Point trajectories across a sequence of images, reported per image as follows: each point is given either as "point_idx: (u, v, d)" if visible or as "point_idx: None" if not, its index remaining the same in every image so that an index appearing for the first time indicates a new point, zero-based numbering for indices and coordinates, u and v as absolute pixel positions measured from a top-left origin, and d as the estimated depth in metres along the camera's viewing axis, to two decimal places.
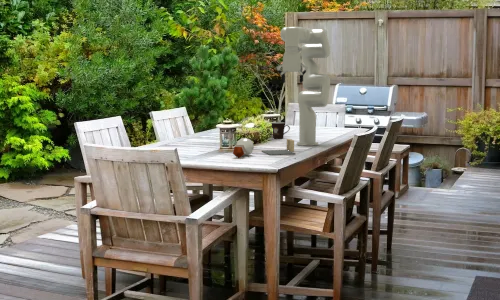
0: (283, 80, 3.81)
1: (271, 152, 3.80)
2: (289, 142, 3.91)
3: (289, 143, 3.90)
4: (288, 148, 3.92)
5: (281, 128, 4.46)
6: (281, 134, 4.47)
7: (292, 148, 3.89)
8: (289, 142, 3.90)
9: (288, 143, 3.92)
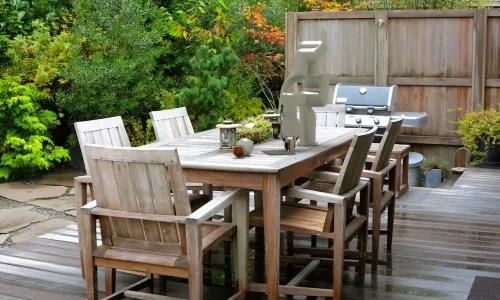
0: None
1: (271, 152, 3.80)
2: (289, 142, 3.91)
3: (289, 143, 3.90)
4: (288, 148, 3.92)
5: None
6: None
7: (292, 148, 3.89)
8: (289, 142, 3.90)
9: (288, 143, 3.92)
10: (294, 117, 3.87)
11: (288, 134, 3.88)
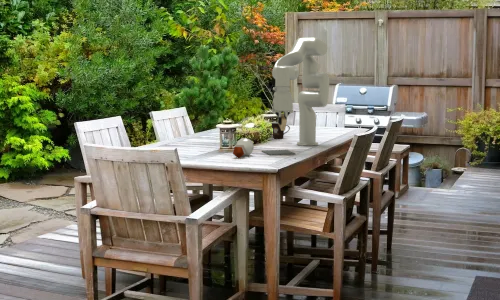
0: None
1: (271, 152, 3.80)
2: None
3: None
4: None
5: None
6: (281, 134, 4.47)
7: (283, 128, 3.78)
8: (282, 121, 3.77)
9: None
10: (287, 91, 3.75)
11: (280, 108, 3.76)
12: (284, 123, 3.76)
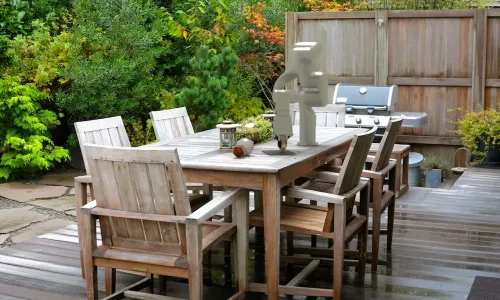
0: None
1: (271, 152, 3.80)
2: (281, 143, 3.78)
3: (281, 144, 3.78)
4: None
5: None
6: None
7: (282, 150, 3.80)
8: (281, 145, 3.78)
9: None
10: (287, 115, 3.76)
11: (280, 132, 3.76)
12: (283, 148, 3.77)
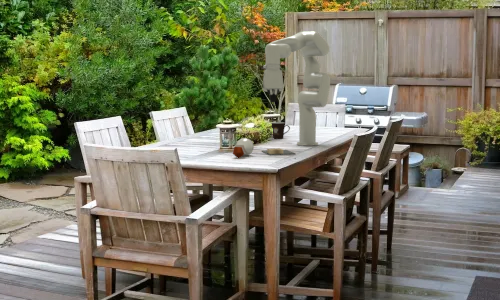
0: None
1: None
2: None
3: None
4: None
5: (281, 128, 4.46)
6: (281, 134, 4.47)
7: None
8: None
9: None
10: (277, 68, 3.76)
11: (271, 86, 3.77)
12: None
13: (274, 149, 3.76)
